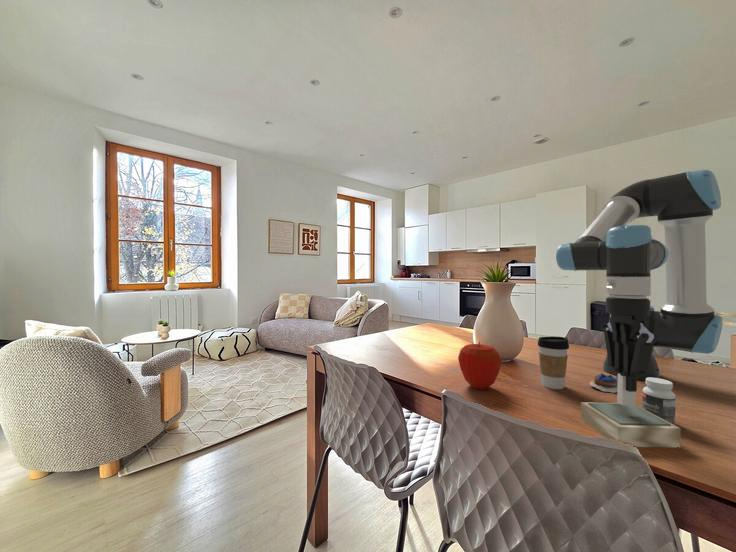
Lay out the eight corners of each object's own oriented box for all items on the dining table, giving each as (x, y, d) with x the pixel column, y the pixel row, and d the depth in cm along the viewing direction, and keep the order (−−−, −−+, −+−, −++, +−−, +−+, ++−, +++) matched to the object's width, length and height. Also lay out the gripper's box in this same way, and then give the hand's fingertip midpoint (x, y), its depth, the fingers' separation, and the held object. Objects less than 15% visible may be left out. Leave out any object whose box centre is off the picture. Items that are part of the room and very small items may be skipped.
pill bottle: (635, 417, 76) (636, 376, 76) (657, 416, 77) (657, 376, 77) (659, 429, 70) (660, 385, 70) (682, 428, 71) (683, 384, 71)
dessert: (602, 378, 100) (614, 368, 96) (618, 398, 95) (631, 388, 91) (581, 381, 98) (592, 370, 94) (596, 401, 93) (608, 391, 89)
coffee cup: (573, 392, 92) (574, 341, 92) (542, 390, 94) (542, 340, 94) (562, 382, 100) (562, 335, 100) (533, 380, 102) (533, 334, 102)
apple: (506, 386, 96) (507, 341, 96) (491, 398, 88) (491, 348, 87) (468, 377, 105) (468, 335, 105) (451, 387, 96) (451, 341, 96)
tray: (632, 419, 75) (632, 402, 75) (680, 448, 63) (680, 426, 63) (580, 418, 75) (580, 401, 75) (618, 446, 63) (618, 425, 63)
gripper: (590, 294, 75) (589, 392, 76) (633, 299, 62) (631, 417, 63) (622, 294, 75) (621, 393, 75) (672, 299, 62) (671, 418, 62)
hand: (626, 403), depth 69 cm, fingers closed
